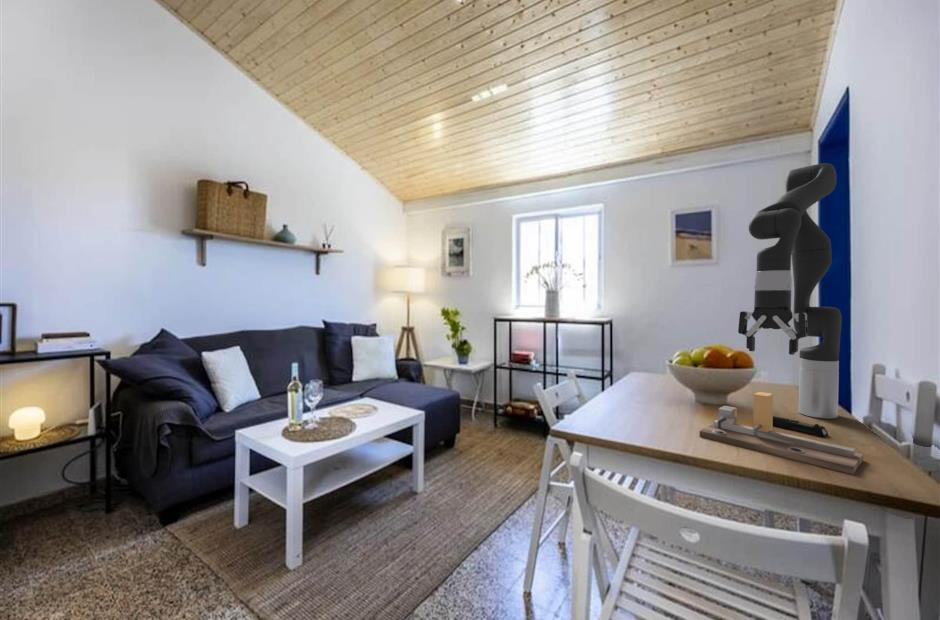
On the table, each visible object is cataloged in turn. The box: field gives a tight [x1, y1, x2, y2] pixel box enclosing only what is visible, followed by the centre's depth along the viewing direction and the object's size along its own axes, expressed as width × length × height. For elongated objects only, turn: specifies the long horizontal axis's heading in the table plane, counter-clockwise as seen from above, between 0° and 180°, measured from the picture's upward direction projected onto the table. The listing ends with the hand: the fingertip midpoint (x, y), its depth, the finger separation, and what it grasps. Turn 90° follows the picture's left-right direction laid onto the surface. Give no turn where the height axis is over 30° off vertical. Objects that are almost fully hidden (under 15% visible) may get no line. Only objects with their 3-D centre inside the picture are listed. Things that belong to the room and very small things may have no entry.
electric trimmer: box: [773, 415, 829, 438], centre depth 113 cm, size 4×15×3 cm, turn 33°
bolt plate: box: [699, 405, 864, 475], centre depth 100 cm, size 11×30×7 cm, turn 39°
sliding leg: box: [752, 391, 774, 437], centre depth 102 cm, size 8×3×10 cm, turn 129°
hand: (771, 352), depth 104 cm, fingers open, 8 cm apart
